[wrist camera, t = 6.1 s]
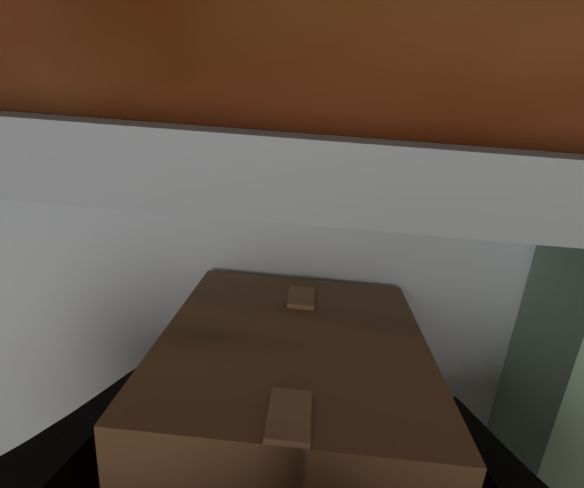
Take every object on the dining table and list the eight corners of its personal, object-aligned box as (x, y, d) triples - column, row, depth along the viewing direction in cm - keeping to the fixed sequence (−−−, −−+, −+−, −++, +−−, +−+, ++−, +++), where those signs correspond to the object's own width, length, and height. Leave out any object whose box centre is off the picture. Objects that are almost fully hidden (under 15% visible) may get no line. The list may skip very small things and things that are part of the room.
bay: (486, 563, 14) (529, 676, 11) (-170, 486, 15) (-285, 571, 12) (614, 156, 10) (737, 171, 7) (-322, 86, 11) (-554, 74, 8)
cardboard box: (365, 496, 12) (399, 776, 7) (207, 478, 12) (126, 738, 7) (400, 284, 10) (488, 461, 5) (208, 266, 10) (92, 420, 5)
